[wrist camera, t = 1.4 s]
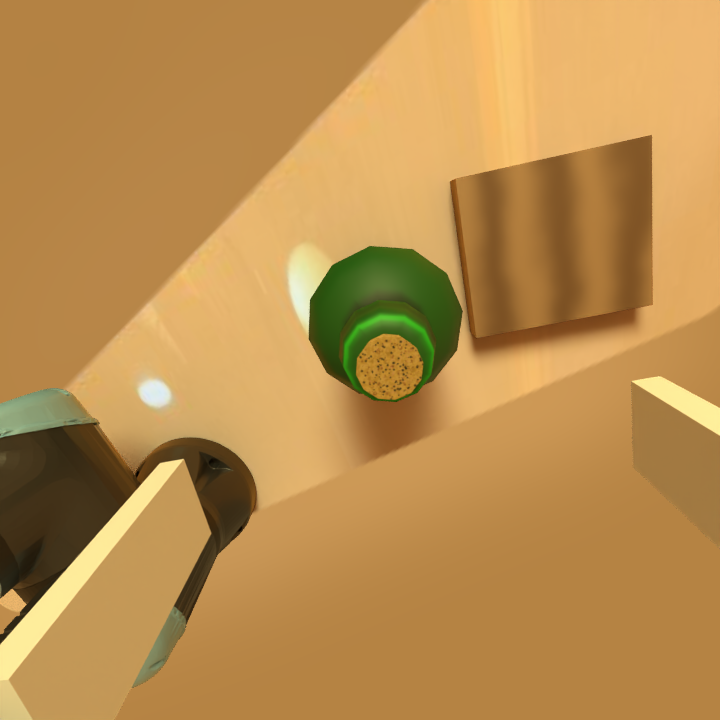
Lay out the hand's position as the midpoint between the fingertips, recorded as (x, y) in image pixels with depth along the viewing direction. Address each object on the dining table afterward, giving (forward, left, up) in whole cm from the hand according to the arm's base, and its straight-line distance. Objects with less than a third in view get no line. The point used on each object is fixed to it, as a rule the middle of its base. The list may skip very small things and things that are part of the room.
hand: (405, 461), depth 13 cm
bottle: (0, 0, -37) cm, 37 cm away
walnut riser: (+18, +1, -36) cm, 41 cm away
